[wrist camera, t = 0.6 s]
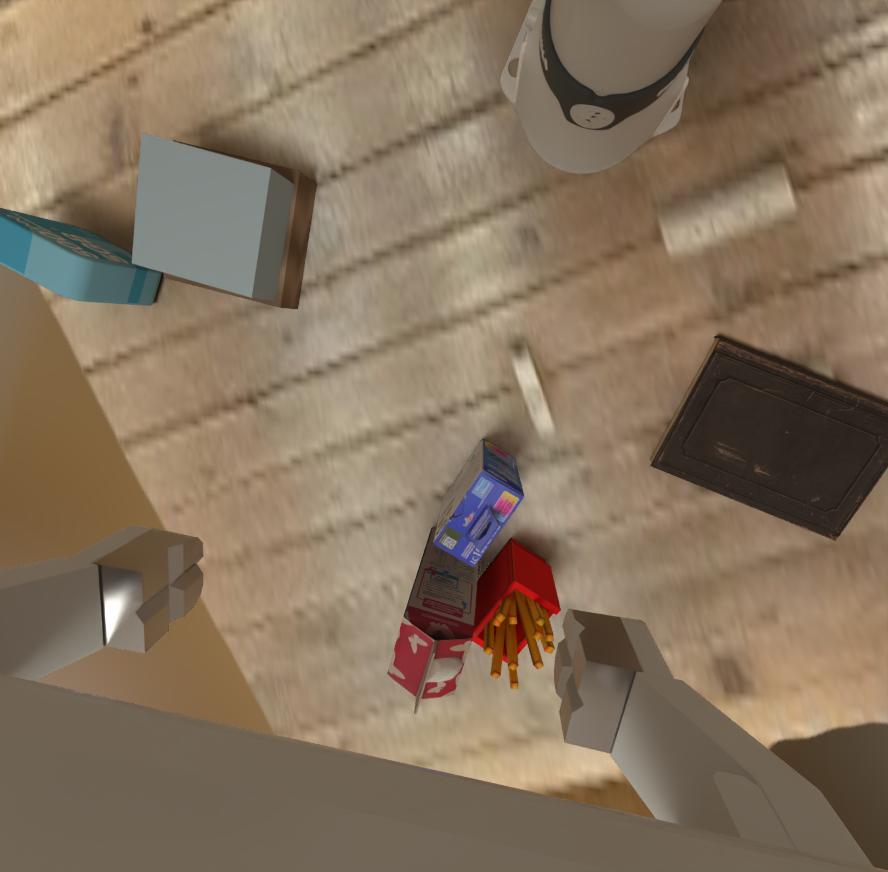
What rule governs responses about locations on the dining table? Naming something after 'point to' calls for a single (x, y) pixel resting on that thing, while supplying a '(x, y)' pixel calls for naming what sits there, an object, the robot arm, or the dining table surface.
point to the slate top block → (210, 218)
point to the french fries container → (515, 608)
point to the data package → (73, 261)
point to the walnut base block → (293, 244)
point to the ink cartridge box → (478, 503)
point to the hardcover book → (777, 439)
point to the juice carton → (436, 625)
